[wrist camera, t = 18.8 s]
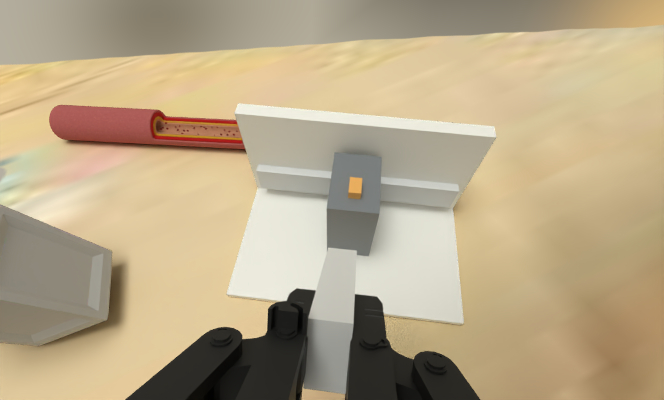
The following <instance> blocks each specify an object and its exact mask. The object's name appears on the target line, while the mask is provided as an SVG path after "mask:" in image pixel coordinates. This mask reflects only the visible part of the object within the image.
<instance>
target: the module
mask: <svg viewBox="0 0 664 400" xmlns="http://www.w3.org/2000/svg"><path fill="white" fill-rule="evenodd" d="M381 165H382V157H380V156H369V155H358V154H347V153H336V152H335V153H334V160H333V167H332V174H331V181H330V188H329V195H328V202H327V250H328V248H337V249H347V250H356V251H357V255H361V256H369V253H370V249H371V245H372V241H373V237H374V234H375V230H376V226H377V222H378V218H379V214H380V191H381Z"/></svg>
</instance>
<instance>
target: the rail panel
mask: <svg viewBox="0 0 664 400" xmlns="http://www.w3.org/2000/svg"><path fill="white" fill-rule="evenodd" d="M234 114H235V117H236V120H237V123H238V127H239V130H240V133H241V136H242V139H243V143H244V146H245V149H246V152H247V155H248V159H249V162H250V165H251V168H252V171H253V175H254V178H255V181H256V184H257V187H258V189H257V192H256V196H255V199H254V203H253V206H252V209H251V213H250V216H249V220H248V223H247V226H246V230H245V233H244V237H243V240H242V243H241V247H240V250H239V254H238V257H237V260H236V264H235V267H234V271H233V274H232V277H231V281H230V284H229V288H228V291H227V295H228V296H229V297H237V298H245V299H254V300H262V301H270V302H281V301H287V298H288V296H289V294H290V293H291V292H292V291H294V290H295V289H296V288H299V289H308V290H316V289H317V285H318V282H319V278H320V275H321V271H322V268H323V264H324V261H325V257H326V254H327V202H328V195H329V188H330V181H331V174H332V167H333V160H334V153H335V152H336V153H347V154H358V155H369V156H380V157H382V165H381V191H380V214H379V218H378V222H377V226H376V230H375V234H374V237H373V241H372V245H371V249H370V253H369V256H361V255H357V259H356V280H355V294H359V295H368V296H377V297H378V298H379V300H380V301H381V302H382V303H383V312H384V316H391V317H399V318H407V319H415V320H423V321H432V322H440V323H448V324H456V325H462V324H464V319H463V309H462V298H461V288H460V277H459V266H458V256H457V245H456V235H455V224H454V214H453V208H454V206H455V204H456V203H457V201H458V199H459V198H460V196H461V195H462V193H463V191H464V190H465V188H466V186H467V185H468V183H469V181H470V180H471V178H472V177H473V175H474V173H475V172H476V170H477V168H478V167H479V165H480V163H481V162H482V160H483V159H484V157H485V155H486V154H487V152H488V150H489V149H490V147H491V145H492V144H493V142H494V141H495V139H496V133H495V128H494V126H484V125H472V124H461V123H450V122H439V121H428V120H417V119H406V118H395V117H384V116H372V115H361V114H350V113H339V112H328V111H317V110H306V109H295V108H283V107H272V106H261V105H250V104H239V103H238V106H237V108H236V111H235V113H234Z"/></svg>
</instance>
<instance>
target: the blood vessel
mask: <svg viewBox="0 0 664 400" xmlns="http://www.w3.org/2000/svg"><path fill="white" fill-rule="evenodd" d="M49 122H50V126H51V129H52V131H53V132H54V134H56V135H57V136H58V137H59V138H61V139H65V140H83V141H102V142H120V143H139V144H158V145H176V146H195V147H214V148H232V149H245V146H244V143H243V139H242V136H241V133H240V130H239V127H238V123H237V120H225V119H205V118H186V117H167V116H165V115H164V114H163V113H162V112H161V111H160V110H151V109H132V108H112V107H92V106H73V105H58V106H56V107H54V108H53V110H52V111H51V113H50V117H49Z"/></svg>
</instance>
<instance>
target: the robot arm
mask: <svg viewBox="0 0 664 400" xmlns="http://www.w3.org/2000/svg"><path fill="white" fill-rule="evenodd" d="M356 259H357V251H356V250H347V249H337V248H328V250H327V254H326V257H325V261H324V264H323V268H322V271H321V275H320V278H319V282H318V285H317V289H316V290H308V289H299V288H296V289H295V290H294V291H292V292H291V293H290V294H289V296H288V298H287V301H281V302H277V303H275V304H273V305H271V306H270V307H269V309H268V328H267V333H266V335H265V336H262V337H259V338H253V339H242V334H241V333H240V331H238V330H236V329H234V328H229V327H221V328H216V329H213V330H210V331H209V332H207V333H205V334H204V335H203V336H201V337H200V338H199V339H198V340H197V341H195V342H194V343H193V344H192V345H191V346H189V347H188V348H187V349H186V350H185V351H183V352H182V353H181V354H180V355H179V356H177V357H176V358H175V359H174V360H173V361H171V362H170V363H169V364H168V365H166V366H165V367H164V368H163V369H162V370H160V371H159V372H158V373H157V374H156V375H154V376H153V377H152V378H151V379H150V380H148V381H147V382H146V383H145V384H144V385H142V386H141V387H140V388H139V389H138V390H136V391H135V392H134V393H133V394H132V395H130V396H129V397H128V398H127V399H125V400H301V398H302V387H303V382H304V387H303V388H305V389H312V390H319V391H327V392H334V393H341V394H346V395H345V400H480V399H479V397H478V396H477V394H476V393H475V392H474V390H473V389H472V387H471V386H470V385H469V383H468V382H467V380H466V379H465V378H464V376H463V375H462V373H461V372H460V371H459V369H458V368H457V366H456V365H455V364H454V363H453V362H452V361H451V360H450V359H449V358H447V357H445V356H444V355H442V354H439V353H436V352H430V351H425V352H420V353H418V354H417V355H416V356H415V358H414V360H413V359H410V358H407V357H405V356H403V355H400V354H398V353H397V352H395V351H394V350H393V349H392V348H391V345H390V343H389V341H388V340H387V339H386V330H385V321H384V312H383V303H382V302H381V301H380V300H379V298H378V297H377V296H368V295H359V294H355V280H356Z"/></svg>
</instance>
